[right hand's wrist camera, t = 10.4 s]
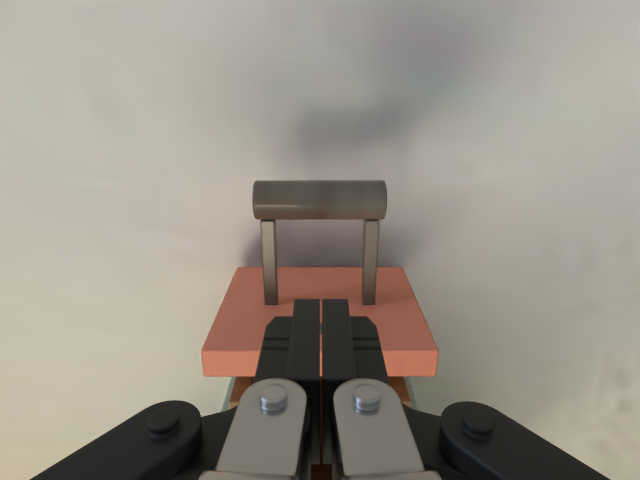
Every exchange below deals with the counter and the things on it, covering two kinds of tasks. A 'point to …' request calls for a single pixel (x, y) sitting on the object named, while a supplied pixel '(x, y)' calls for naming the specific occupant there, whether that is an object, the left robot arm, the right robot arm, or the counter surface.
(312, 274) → the drawer
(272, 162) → the counter surface
